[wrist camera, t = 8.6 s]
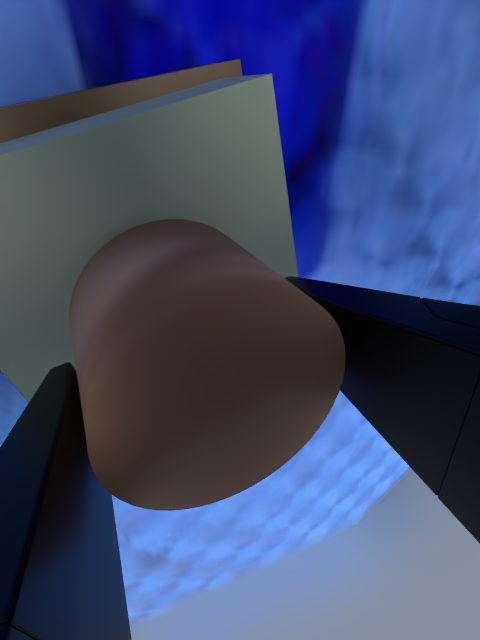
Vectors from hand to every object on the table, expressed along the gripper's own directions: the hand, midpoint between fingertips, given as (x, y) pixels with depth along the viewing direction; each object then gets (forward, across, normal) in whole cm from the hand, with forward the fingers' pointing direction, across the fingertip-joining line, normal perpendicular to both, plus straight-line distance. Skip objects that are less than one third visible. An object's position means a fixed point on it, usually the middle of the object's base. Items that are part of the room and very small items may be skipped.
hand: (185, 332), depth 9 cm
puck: (+1, 0, 0) cm, 1 cm away
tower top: (+5, 0, 0) cm, 5 cm away
